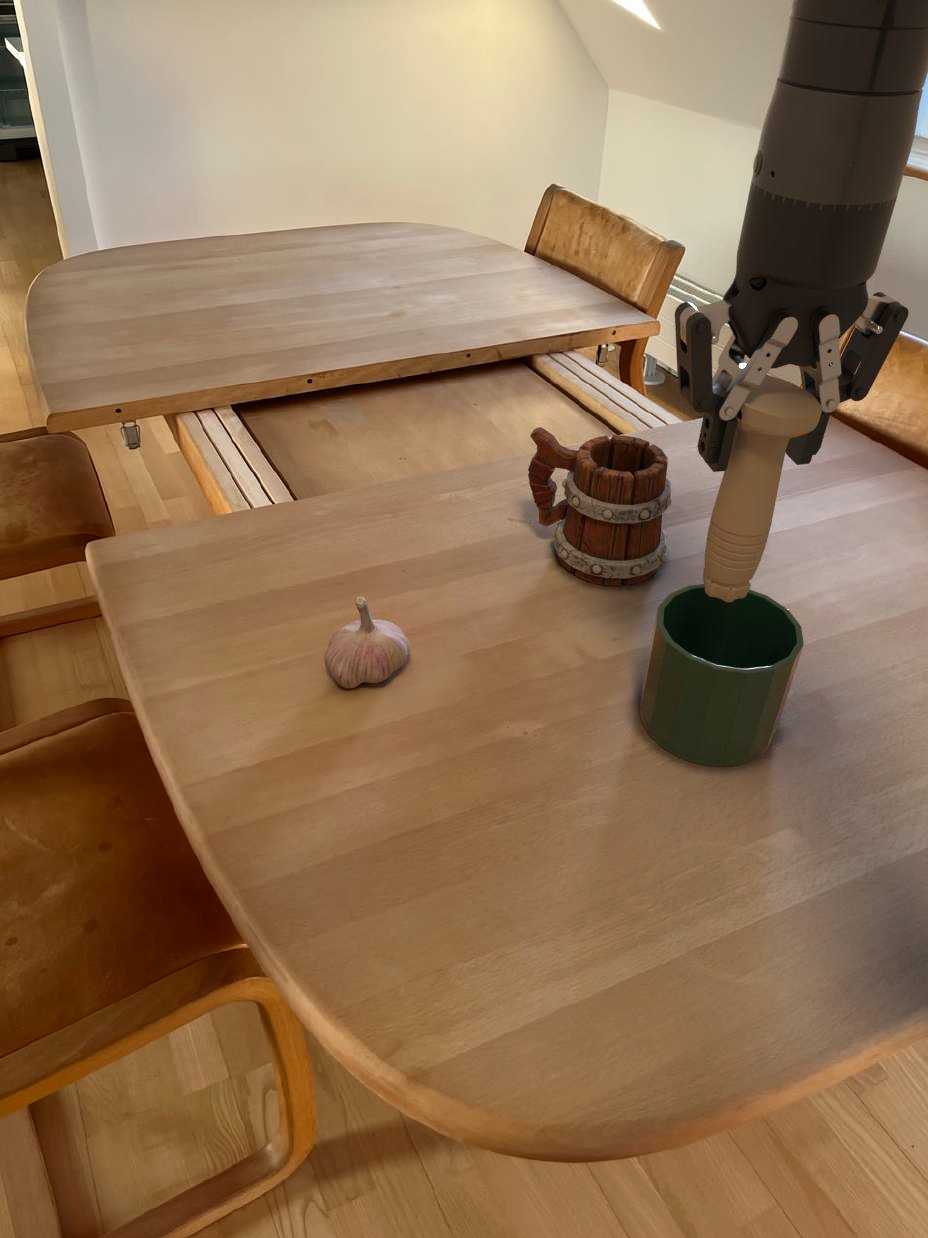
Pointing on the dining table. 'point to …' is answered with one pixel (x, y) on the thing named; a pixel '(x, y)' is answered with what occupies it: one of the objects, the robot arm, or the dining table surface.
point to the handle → (753, 483)
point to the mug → (604, 505)
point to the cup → (718, 675)
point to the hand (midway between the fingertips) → (756, 461)
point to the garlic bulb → (366, 650)
